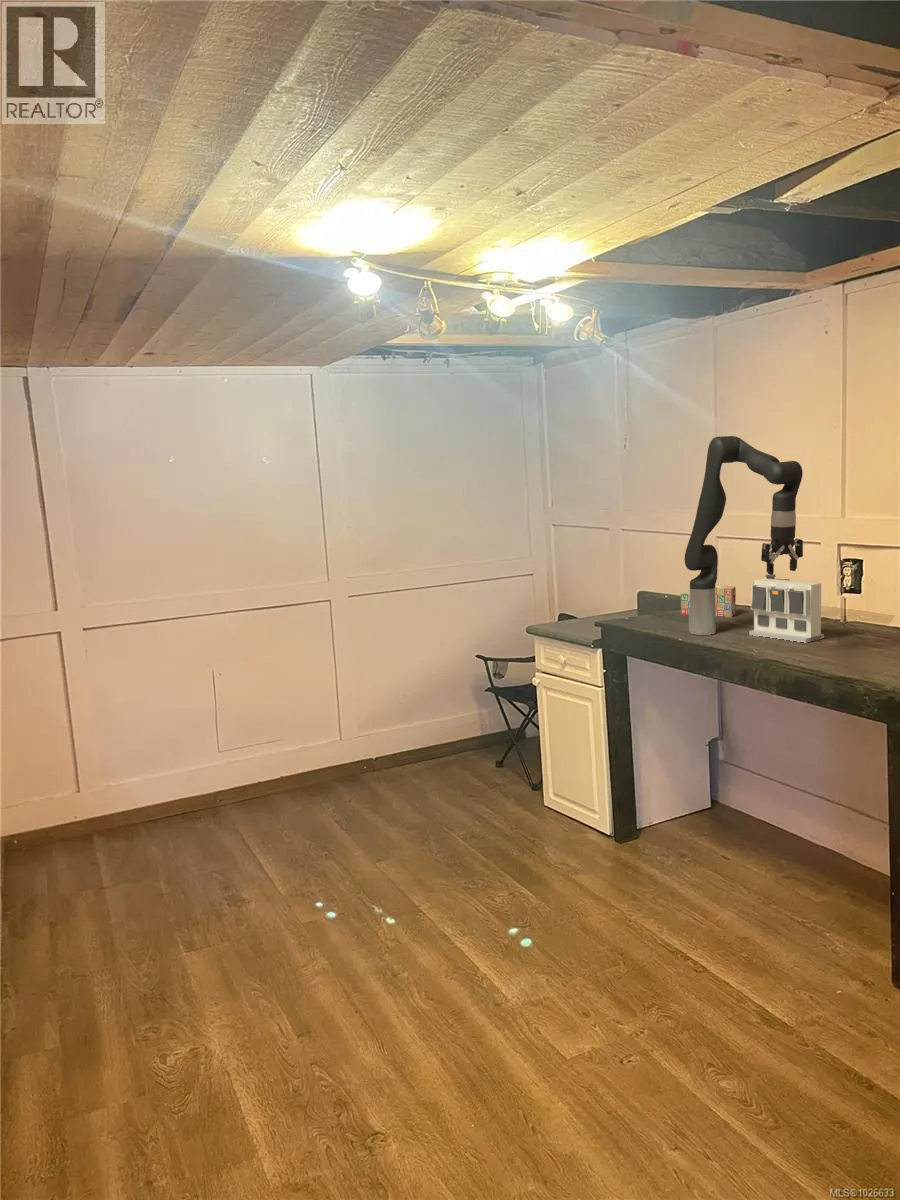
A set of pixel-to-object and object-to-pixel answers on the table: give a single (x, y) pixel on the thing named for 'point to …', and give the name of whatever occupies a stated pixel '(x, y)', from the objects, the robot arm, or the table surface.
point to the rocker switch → (759, 598)
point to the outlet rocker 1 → (777, 599)
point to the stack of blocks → (723, 601)
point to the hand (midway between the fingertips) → (781, 572)
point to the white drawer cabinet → (789, 613)
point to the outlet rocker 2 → (796, 601)
